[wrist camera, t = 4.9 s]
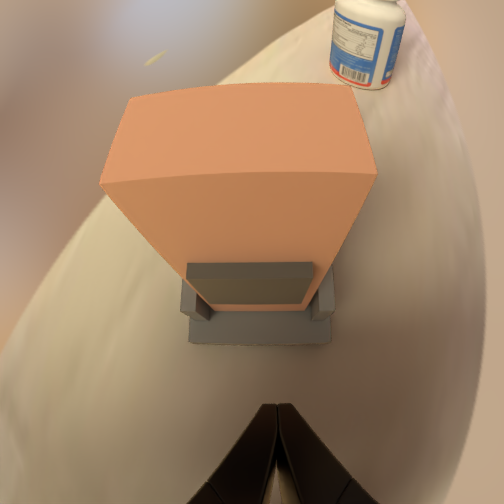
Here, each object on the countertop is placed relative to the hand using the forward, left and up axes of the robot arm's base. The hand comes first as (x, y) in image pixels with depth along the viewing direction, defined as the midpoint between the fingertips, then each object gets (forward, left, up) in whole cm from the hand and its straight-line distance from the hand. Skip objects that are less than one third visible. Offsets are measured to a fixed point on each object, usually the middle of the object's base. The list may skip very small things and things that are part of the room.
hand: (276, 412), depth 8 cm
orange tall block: (+5, +1, -4) cm, 6 cm away
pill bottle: (+23, -8, -6) cm, 25 cm away
